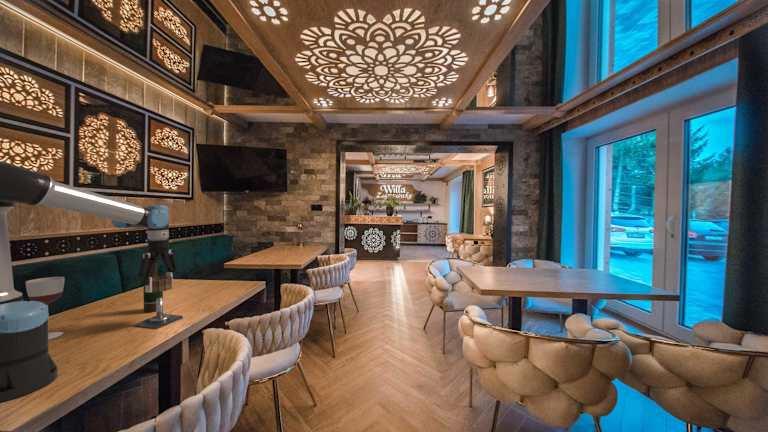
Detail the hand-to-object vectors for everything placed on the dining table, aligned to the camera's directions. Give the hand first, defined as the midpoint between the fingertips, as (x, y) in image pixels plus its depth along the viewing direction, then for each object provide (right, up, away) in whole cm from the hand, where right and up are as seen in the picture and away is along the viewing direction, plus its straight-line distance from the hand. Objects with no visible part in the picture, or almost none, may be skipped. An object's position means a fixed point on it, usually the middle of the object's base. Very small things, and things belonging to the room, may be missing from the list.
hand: (159, 289), depth 128 cm
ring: (0, 0, 0) cm, 0 cm away
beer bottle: (-15, -15, +15) cm, 26 cm away
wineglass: (-33, -15, -15) cm, 40 cm away
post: (0, -15, 0) cm, 15 cm away
